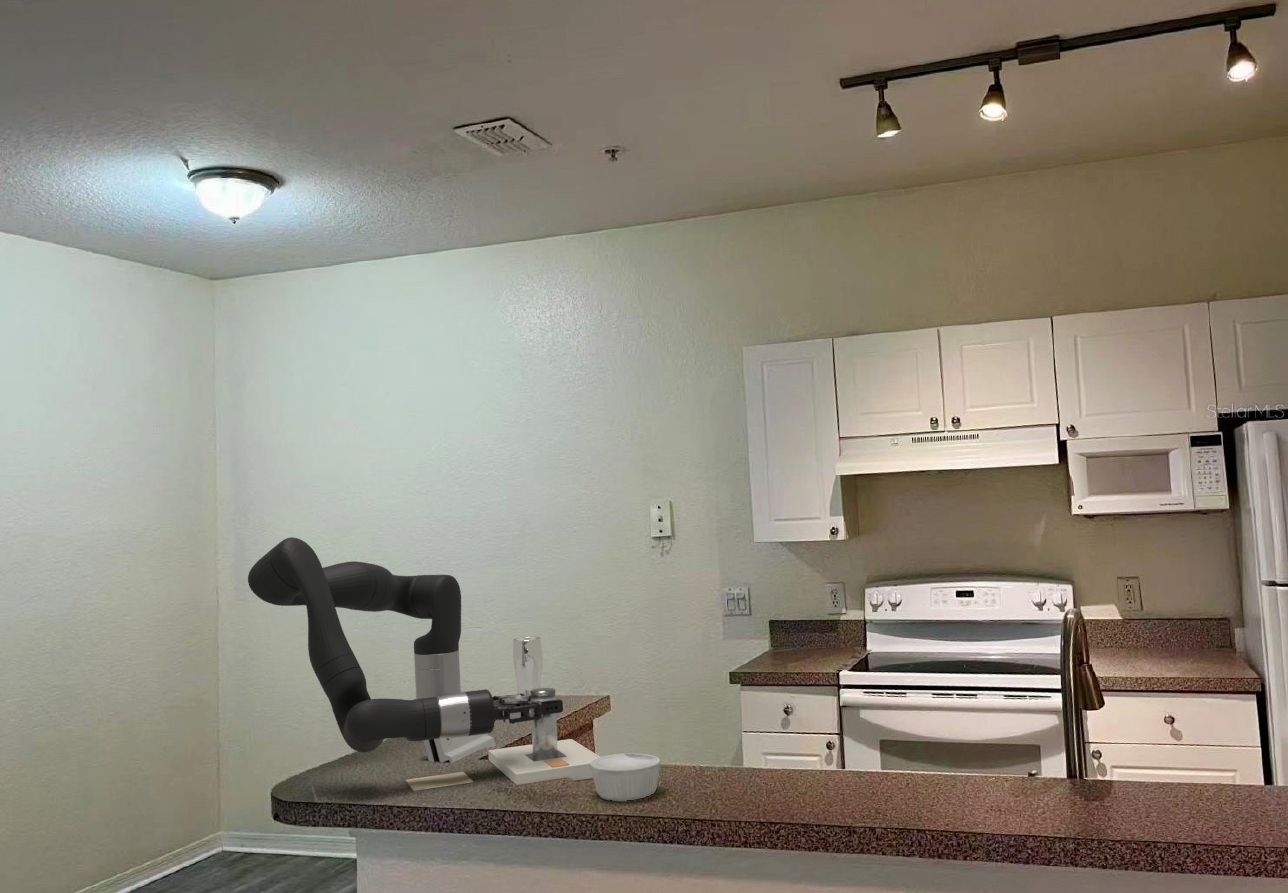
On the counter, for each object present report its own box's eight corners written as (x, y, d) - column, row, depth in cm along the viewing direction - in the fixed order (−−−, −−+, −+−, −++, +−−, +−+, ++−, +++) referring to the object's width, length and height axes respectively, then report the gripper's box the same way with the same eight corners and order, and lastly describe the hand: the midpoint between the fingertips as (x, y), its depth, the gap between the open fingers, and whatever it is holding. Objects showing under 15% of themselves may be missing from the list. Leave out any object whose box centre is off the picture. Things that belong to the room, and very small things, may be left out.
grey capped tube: (530, 768, 193) (527, 689, 193) (554, 765, 194) (551, 687, 195) (537, 774, 189) (534, 693, 189) (561, 771, 190) (558, 690, 191)
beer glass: (528, 698, 262) (525, 636, 263) (550, 700, 258) (547, 637, 259) (509, 703, 257) (506, 640, 257) (531, 705, 253) (528, 641, 253)
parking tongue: (405, 784, 186) (405, 779, 186) (463, 776, 190) (463, 771, 190) (413, 795, 179) (413, 790, 179) (473, 786, 183) (473, 781, 183)
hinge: (453, 767, 197) (434, 714, 199) (432, 775, 199) (414, 723, 200) (497, 745, 213) (480, 697, 214) (477, 753, 214) (460, 705, 216)
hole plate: (488, 764, 198) (488, 749, 198) (572, 752, 204) (571, 737, 204) (517, 789, 179) (516, 773, 179) (607, 775, 185) (606, 759, 185)
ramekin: (673, 787, 176) (671, 755, 176) (641, 807, 166) (639, 772, 166) (613, 782, 181) (612, 750, 182) (579, 800, 171) (577, 767, 172)
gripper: (471, 698, 180) (568, 687, 187) (454, 686, 194) (544, 676, 200) (473, 744, 180) (570, 731, 186) (456, 728, 193) (546, 717, 200)
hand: (556, 702), depth 193 cm, fingers open, 6 cm apart
